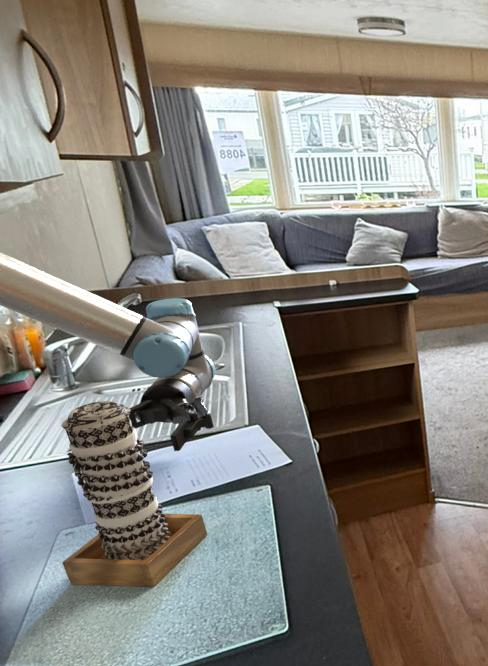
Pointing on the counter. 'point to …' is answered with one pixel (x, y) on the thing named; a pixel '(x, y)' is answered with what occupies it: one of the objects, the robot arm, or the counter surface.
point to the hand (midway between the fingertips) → (125, 448)
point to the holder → (100, 570)
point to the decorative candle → (116, 480)
